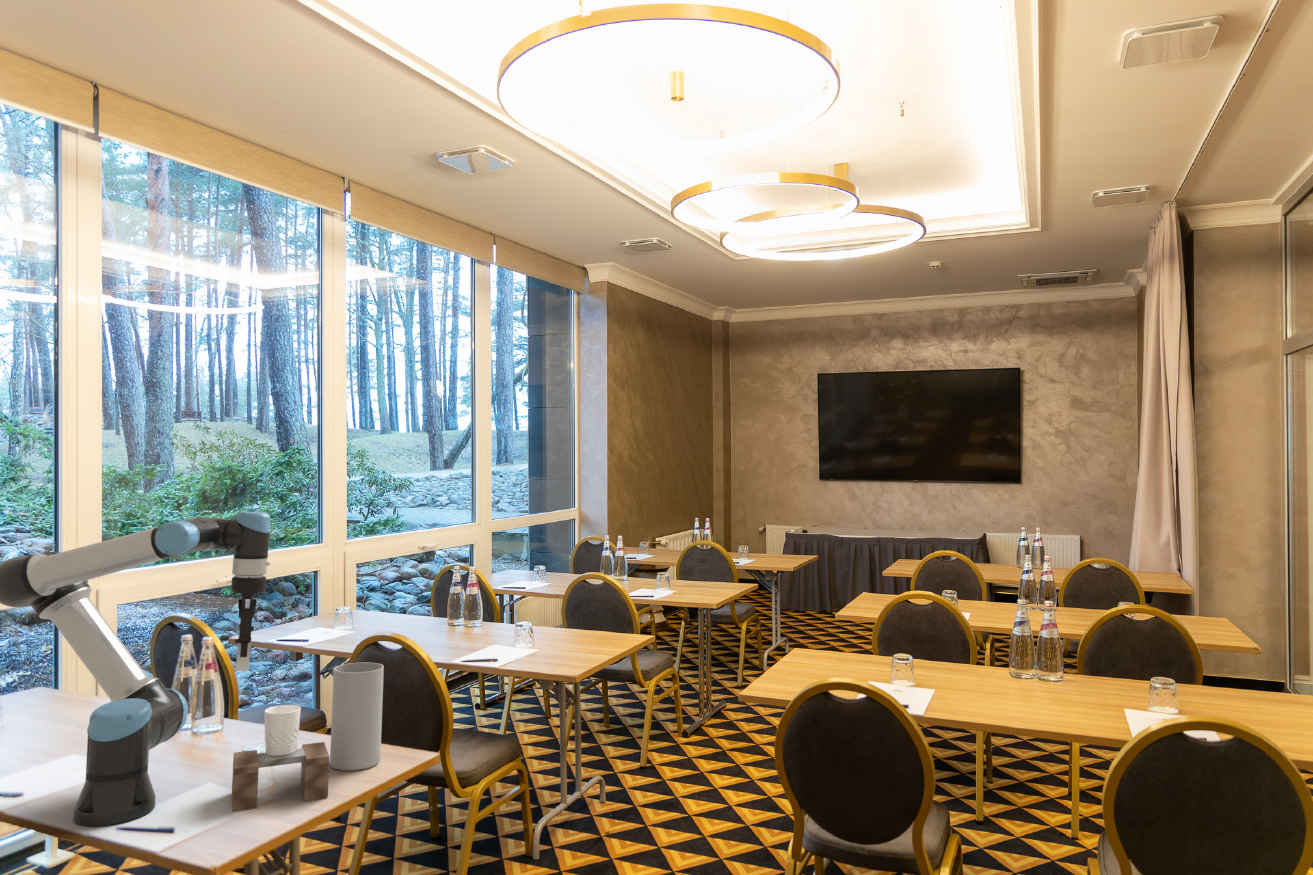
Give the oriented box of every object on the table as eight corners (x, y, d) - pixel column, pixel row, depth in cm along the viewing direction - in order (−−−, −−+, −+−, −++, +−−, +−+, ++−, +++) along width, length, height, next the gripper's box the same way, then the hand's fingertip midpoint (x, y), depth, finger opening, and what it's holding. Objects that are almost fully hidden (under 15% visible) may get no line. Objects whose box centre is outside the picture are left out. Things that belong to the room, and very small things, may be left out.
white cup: (305, 747, 201) (306, 705, 202) (288, 757, 193) (290, 714, 194) (273, 745, 202) (275, 704, 202) (256, 756, 194) (258, 712, 194)
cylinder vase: (361, 774, 210) (364, 674, 212) (319, 768, 214) (323, 670, 215) (389, 758, 222) (393, 664, 224) (349, 753, 226) (353, 660, 227)
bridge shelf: (232, 811, 185) (234, 768, 186) (231, 793, 196) (233, 752, 196) (327, 797, 194) (329, 756, 195) (322, 780, 205) (324, 741, 205)
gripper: (267, 581, 191) (260, 675, 190) (265, 569, 214) (259, 653, 212) (230, 582, 188) (223, 676, 187) (233, 569, 210) (226, 654, 209)
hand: (242, 664), depth 200 cm, fingers open, 13 cm apart
